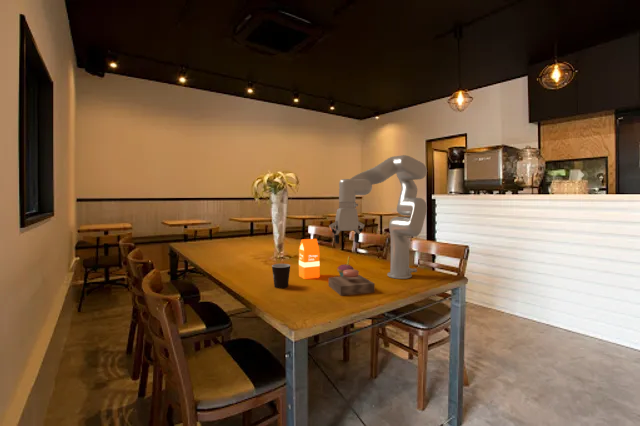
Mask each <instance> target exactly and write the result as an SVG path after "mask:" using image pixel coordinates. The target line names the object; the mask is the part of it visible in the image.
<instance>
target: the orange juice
mask: <svg viewBox="0 0 640 426" xmlns="http://www.w3.org/2000/svg"><path fill="white" fill-rule="evenodd" d="M320 254H321V253H320V246H319V243H318V239H317V238H304V239H303V238H302V239H301V240H300V244H299V248H298V277H300V278H302V279H304V280H306V279H307V280H308V279H316V278H320V271H321V270H320V268H321V267H320V266H321V265H320V263H321V262H320V257H321V256H320Z"/></svg>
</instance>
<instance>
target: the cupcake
mask: <svg viewBox="0 0 640 426" xmlns="http://www.w3.org/2000/svg"><path fill="white" fill-rule="evenodd" d="M349 263H350V255H349V256H348V257H347V263H346V264H341V265H339V266H338V267H337V269H336V271H337V272H338V273H339V277H341V276H343V271H344V270H348V269H353V270H355V268H354V267H353V266H352V265H351V264H349Z"/></svg>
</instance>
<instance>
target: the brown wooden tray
mask: <svg viewBox="0 0 640 426" xmlns="http://www.w3.org/2000/svg"><path fill="white" fill-rule="evenodd" d="M375 285H376V284H375V282H373V281H371V280H369V279H367V278H366V277H364V276H362V275H360V274H358V277H345V276H334V277H333V276H331V277H328V287H329V288H331V289H332V290H333V291H335V292H336V293H337V294H338V295H340V296H350V295H352V296H353V295H359V294H360V295H361V294H371V293H373V294H374V293H375Z"/></svg>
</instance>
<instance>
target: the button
mask: <svg viewBox="0 0 640 426" xmlns="http://www.w3.org/2000/svg"><path fill="white" fill-rule="evenodd" d="M358 275H359V270H358V269H354V270H353V269H348V270H344V271H343V276H345V277H358Z"/></svg>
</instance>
